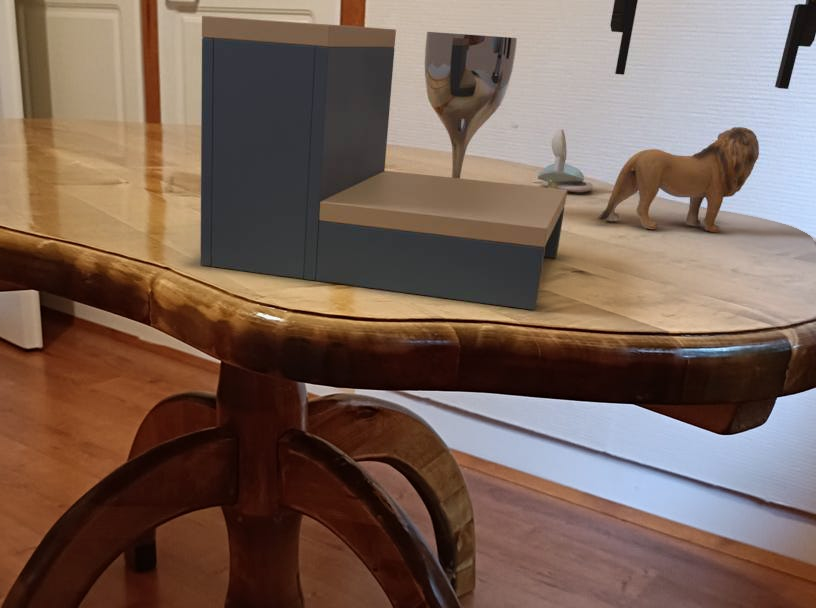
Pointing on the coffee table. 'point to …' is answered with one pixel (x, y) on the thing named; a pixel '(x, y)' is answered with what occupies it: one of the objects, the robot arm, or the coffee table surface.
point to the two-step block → (347, 175)
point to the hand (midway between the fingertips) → (698, 81)
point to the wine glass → (466, 83)
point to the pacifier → (563, 169)
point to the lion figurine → (688, 177)
